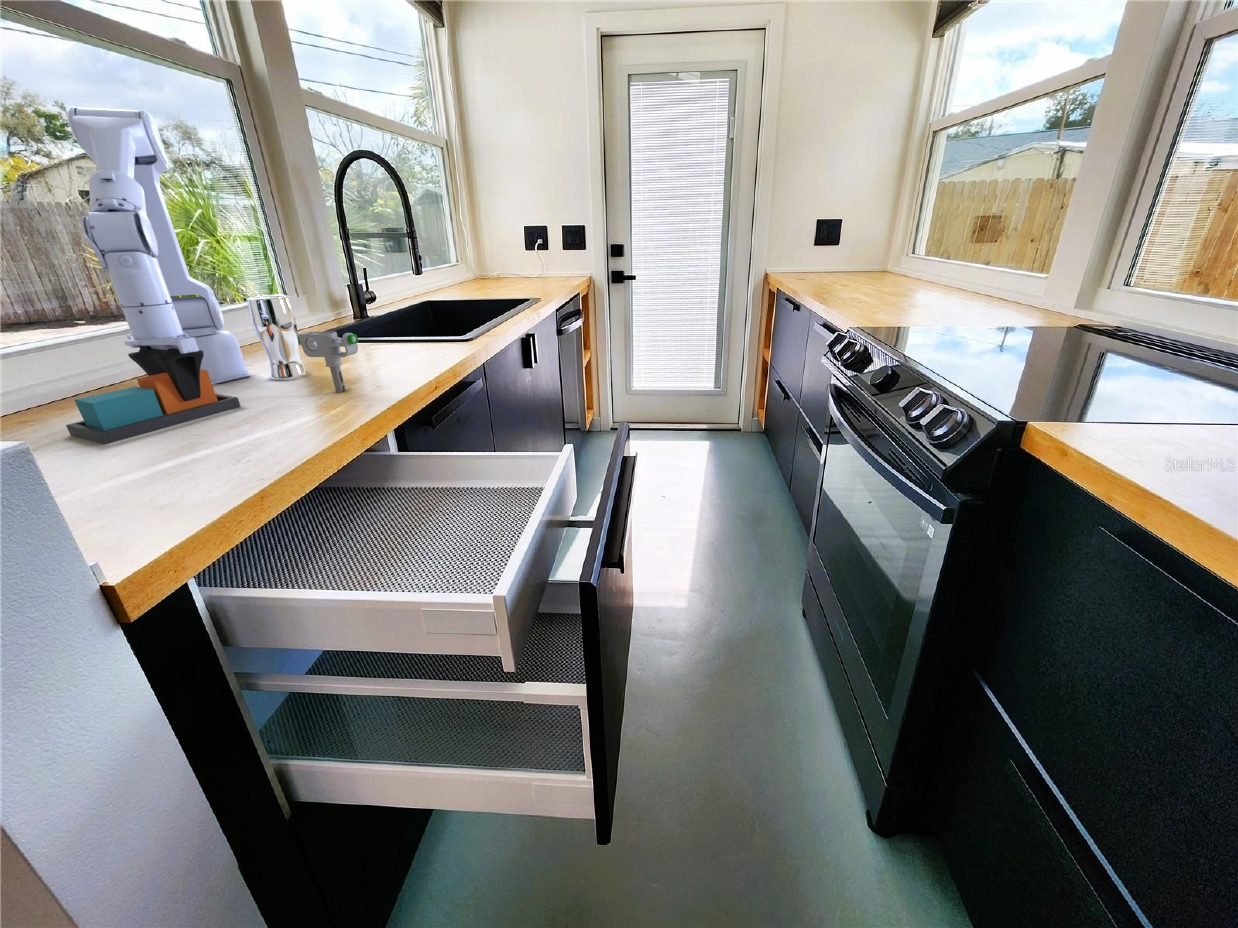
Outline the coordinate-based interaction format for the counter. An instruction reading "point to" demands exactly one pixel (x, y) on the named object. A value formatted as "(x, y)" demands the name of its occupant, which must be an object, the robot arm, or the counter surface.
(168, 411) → the orange block
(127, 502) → the counter surface
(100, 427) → the teal rectangular block
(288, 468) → the counter surface
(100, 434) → the tray
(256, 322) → the beer glass
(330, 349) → the mechanical component
